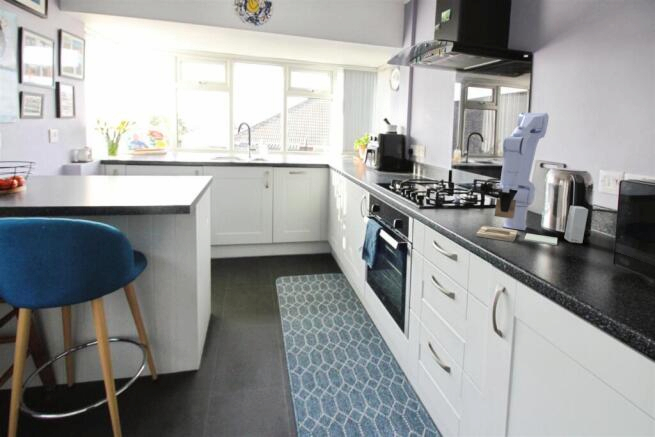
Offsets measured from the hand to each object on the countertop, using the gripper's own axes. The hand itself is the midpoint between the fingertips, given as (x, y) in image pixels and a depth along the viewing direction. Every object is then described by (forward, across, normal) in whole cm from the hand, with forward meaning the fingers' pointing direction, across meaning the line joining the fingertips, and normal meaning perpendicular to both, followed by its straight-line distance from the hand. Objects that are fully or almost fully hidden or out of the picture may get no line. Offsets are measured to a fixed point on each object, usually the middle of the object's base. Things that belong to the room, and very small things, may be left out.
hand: (505, 210), depth 155 cm
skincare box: (+9, -10, +22) cm, 26 cm away
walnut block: (+2, 0, 0) cm, 2 cm away
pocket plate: (+9, 0, -2) cm, 9 cm away
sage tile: (+9, -3, +12) cm, 16 cm away
